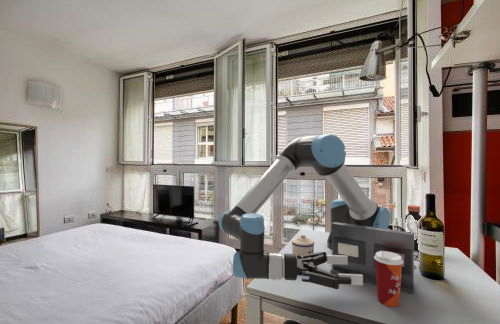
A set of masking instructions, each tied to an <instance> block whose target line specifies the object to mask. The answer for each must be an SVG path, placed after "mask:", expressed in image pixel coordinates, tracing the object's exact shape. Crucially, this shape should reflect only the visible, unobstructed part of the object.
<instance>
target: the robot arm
mask: <svg viewBox="0 0 500 324" xmlns="http://www.w3.org/2000/svg"><path fill="white" fill-rule="evenodd" d="M345 149H346V146H345V144H344V142H343V140H342V139H341V138H340V137H339V136H337V135H334V134H329V133H328V134H327V133H323V134H322V133H321V134H317V135H307V136H299V137H296V138H295V139H293V140H291V142H289V143H288V144H287V145H286V146H284V147H283V148H282V149H281V150H280V151H279V152H278V154H277V155H276V156H275V158H274V159H275V161H274V162H273V163H272V164H271V165H270V166H269V167H268V169H267V170H266V171H265V172H264V173H263V174H262V175H261V177H259V179H258V180H257V181H256V182H255V183H254V185H253V186H252V187H251V188H250V189H249V190H248V191H247V192H246V193H245V194H244V196H243V197H242V198H241V199H240V200H239V202H237V204H236V205H234V207H233V208H232V209H231V210H229V211H224V212H222V214H220V216H219V218H218V227H219V228H220V230H222V231H223V232H224V233H225V234H226V235H229V236H231V237H232V238H233V239H236V240H238V241H239V251H236V252H235V253H234V254H233V258H232V259H233V260H232V274H233V276H234V277H235V278H239V279H243V278H244V279H247V280H251V279H256V280H257V279H259V280H261V279H262V280H272V281H276V280H278V281H279V280H280V281H281V280H283V278H284V280H285V281H297V279H298V276H301V282H303V283H310V284H315V285H319V286H322V287H326V288H331V289H334V290H339V289H340V285H342V286H343V285H344V286H364V281H363V275H362V274H338V275H337V274H333V273H330V271H326V270H323V269H320V268H318V266H320V265H322V264H327V265H332V264H342V265H348V256H344V255H332V254H327V252H326V251H319V252H314V253H312V254H305V255H297V258H296V255H295V254H292V253H284V254H283V253H281V252H280V253H279V252H278V253H277V252H265V231H266V228H265V217H264V216H263V215H262V214H260V213H258V212H259V211H260V210H261V208H262V207H263V206H264V205H265V204H266V202H267V201H268V200H269V199H270V198H271V196H272V195H273V194H274V193H275V192H276V190H277V189H278V188H279V187H280V186H281V185H282V183H283V182H284V181H285V180H286V179H287V178H288V176H289V175H290V174H294V173H295V172H296V171H297V170H298V169H299V168H301V167H312V169H314V171H315V172H316V173H317V175H319V176H320V177H325V178H326V180H327V181H328V182H329V184H330V185H331V187H333V189H334V190H335V191H336V193H337V194H338V196H339V197H340V198H338V199H336V198H335V199H333V200H331V201H330V202H331V204H330V231H329V235H328V237H327V241H326V246H327V248H329V249H331V250H332V224H333V223H334V222H339V223H346V224H353V225H360V226H368V227H375V228H382V229H389V226H390V223H391V213H390V210H389V209H388V208H387V207H384V206H379V204H378V203H377V201H376V200H375V199H373V198H371V197H368V196H367V194H366V192H365V191H364V190H363V188H362V187H361V186H360V185H359V182H358V181H357V179H356V178H355V177H354V176H353V174H352V173H351V171H350V170H349V168H348V167H347V165H346V164H345V161H346V156H347V155H346V153H347V152H346V151H347V150H346V151H345Z"/></svg>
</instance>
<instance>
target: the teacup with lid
mask: <svg viewBox="0 0 500 324" xmlns="http://www.w3.org/2000/svg"><path fill="white" fill-rule="evenodd" d="M291 245H292V246H291V247H292V248H291V254H295V255H296V258H297V255H305V254H312V253H315V251H314V250H315V246H314V245H315V241H314V240H313V239H312V238H309V237H307V236H306V234H300V236H298V237H295V238H293V239H292V241H291Z"/></svg>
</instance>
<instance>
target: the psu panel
mask: <svg viewBox="0 0 500 324" xmlns="http://www.w3.org/2000/svg"><path fill="white" fill-rule="evenodd" d="M331 250H332V251H331V252H332V254H331V255H344V256H348V265H342V264H331V266H332V267H331V268H330V270H329V273H332V274H335V275H338V274H362V275H363V283H364V282H365V283H368V284H373V285H376V286H377V281H376V263H375V259H374V256H375V255H376V252H379V251H387V252H392V253H396V254H398V255H400V256H401V257H402V260H403V264H402V272H401V285H400V292H404V293H408V294H414V281H415V280H414V273H415V272H414V271H415V269H414V268H415V267H414V265H415V263H414V262H415V261H414V259H415V257H414V256H415V250H414V233H411V232H405V231H403V230H395V229H389V228H387V229H382V228H375V227H368V226H360V225H353V224H346V223H339V222H334V223H333V224H332V249H331Z"/></svg>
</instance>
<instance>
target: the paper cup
mask: <svg viewBox="0 0 500 324" xmlns="http://www.w3.org/2000/svg"><path fill="white" fill-rule="evenodd" d="M374 259H375V263H376V281H377V285H376V295H377V302H379V303H380V304H382V305H384V306H386V307H390V308H396V307H398V306H399V305H400V294H401V291H400V285H401V272H402V264H403V260H402V257H401V256H400V255H398V254H396V253H392V252H387V251H379V252H376V255H375V256H374Z"/></svg>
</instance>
